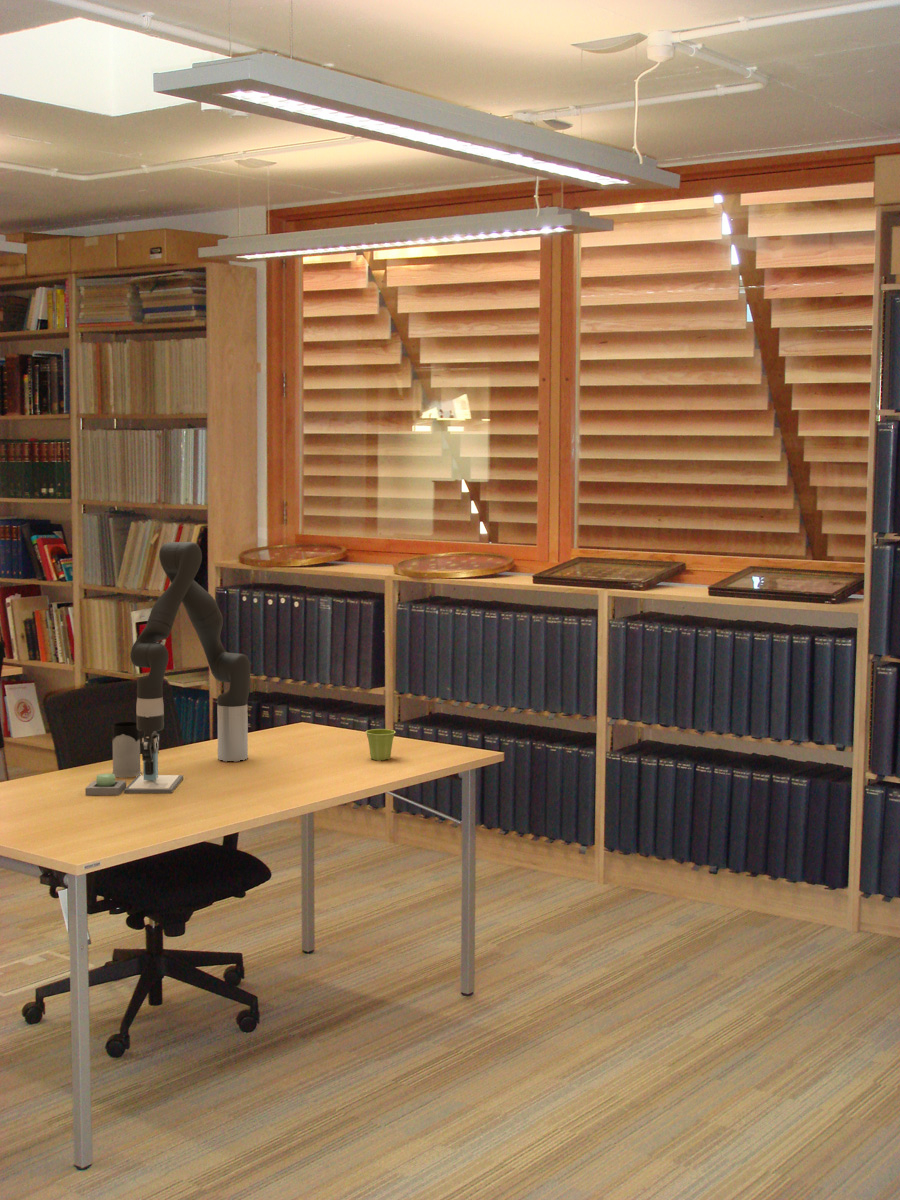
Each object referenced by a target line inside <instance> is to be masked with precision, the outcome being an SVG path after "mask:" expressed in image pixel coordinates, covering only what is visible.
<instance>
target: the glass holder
mask: <svg viewBox="0 0 900 1200" xmlns="http://www.w3.org/2000/svg"><path fill="white" fill-rule="evenodd" d="M111 774H115V778H117V777H119V779H127V777H131V778H134V777H133V776H138V775H140V774H142V775H143V772H142V771H141V738H140V731H139V730H137V721H135V722H134V721H121V722H116V723H113V724H112V772H111Z"/></svg>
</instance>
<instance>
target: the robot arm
mask: <svg viewBox="0 0 900 1200" xmlns="http://www.w3.org/2000/svg"><path fill="white" fill-rule="evenodd" d="M158 553H159V562H160V565H161V567H162V570H163V571H164V574H165V575H166V576H167V578H168V581H170V585H169V586H168V588H167V589H165V591H164V592H163V593H161V595H160V596H159V597H158V598H157V600H155V603H154V604H153V606H152V608H151V610H150V614H149V615H148V619H147V622H146V624H145V627H144V628H143V630H142V631H141V633H140V635H138V637H137V639H136V640H135V641H134V643H133V644H132V647H131V650H130V655H129V656H130V662H131V663H132V664H133V666H134V667H137V668H146V669H148V668H149V669H150V670H149V673H148V675H143V676H141V677H139V678H137V681H136V682H137V683H136V705H135V706H136V708H135V709H136V710H135V711H136V723H137V730H139V732H143V736H142V737H141V741H140V750H141V756H142V762H143V761H144V762H145V774H146V775H152V774H153V761H154V753H155V748H156V747H158V754H159V753H160V752H159V750H160V736H161V735H160V733H158V732H159V731H162V730H163V729H164V728H165V720H164V719H165V715H164V714H165V713H164V712H165V710H164V709H165V707H164V705H165V704H164V699H163V698H164V697H163V694H164V693H163V691H164V690H163V683H164V679H165V674H166V669H167V666H168V663H169V650H168V649H167V647H166V646H165V645H164V644H162V643H159V641H162V640H166V639H168V637H169V636H170V635H171V631H172V629H173V626H174V622H175V620H176V617H177V614H178V611H179V608H180V607H181V604H182V606H183V607H184V610H185V611H186V614H187V616H188V618H189V621H190V622H191V625H192V626H193V627H192V628H193V629H194V630H195V633H196V635H197V637H198V639H199V642H200V644H201V646H202V648H203V652H204V654H205V658H206V659H207V660H206V661H207V663H208V667H209V669H210V673H211V674H212V676H213V678H214V679H215V680H217V681H219V682H221V683H229V689H228V690H227V691H225V692H223V693H221V694H219V695H217V703H216V705H217V706H216V708H217V712H216V713H217V760H218V759H219V760H218V761H220V760H223V761H222V762H227V761H234V762H241V761H240V760H243V761H246V760H248V759H249V755H248V753H249V748H248V745H249V744H248V741H249V739H248V738H249V736H248V735H249V734H248V733H249V729H248V726H249V725H248V724H249V721H248V720H249V719H248V716H249V715H248V699H249V695H250V687H251V685H250V683H251V662H250V659H249V658H248V657H249V656H247V655H246V654H243V653H236V652H227V651H226V649H225V647H224V645H223V643H222V641H221V633H222V631H223V624H224V617H223V614H222V612H221V610H220V608H219V606H218V603H217V600H216V599H215V598H214V596H212V595H211V593H210V592H208V591H207V590H206V589H205V588H204V587H202V585H200V584H199V583H198V582H197V581H195V577H196V576H197V573H198V572H199V569H200V567H201V564H202V561H203V560H202V559H203V554H202V550H201V548H200V546H199V544H197V543H196V542H192V541H172V542H166V543H163V544H162V545H161V547H160V550H159V552H158ZM156 642H158V643H156ZM151 749H153V750H152V751H151ZM147 754H149V756H147ZM247 758H248V759H247ZM245 759H246V760H245Z"/></svg>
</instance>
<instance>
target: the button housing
mask: <svg viewBox="0 0 900 1200" xmlns="http://www.w3.org/2000/svg"><path fill="white" fill-rule="evenodd" d="M126 787H127V781H126V780H115V785H112V786H97V783H96V780H93V781H91V782H90V783H89V784H88V785H87V786H85V794H84V795H85V796H119V795H120V794H121V793H123V792H124V789H125V788H126Z"/></svg>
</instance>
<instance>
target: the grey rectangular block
mask: <svg viewBox="0 0 900 1200" xmlns="http://www.w3.org/2000/svg"><path fill="white" fill-rule="evenodd" d="M152 750H153V749H151V751H152ZM147 756H149V754H147ZM142 762H143V765H142V769H143V772H142V774H143V775H144V780H156V779H157V778H158V775H159V753H158V747H156V748H155V753H154V761H153V774H152V775H146V774H145V762H144V761H143V760H142Z"/></svg>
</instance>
